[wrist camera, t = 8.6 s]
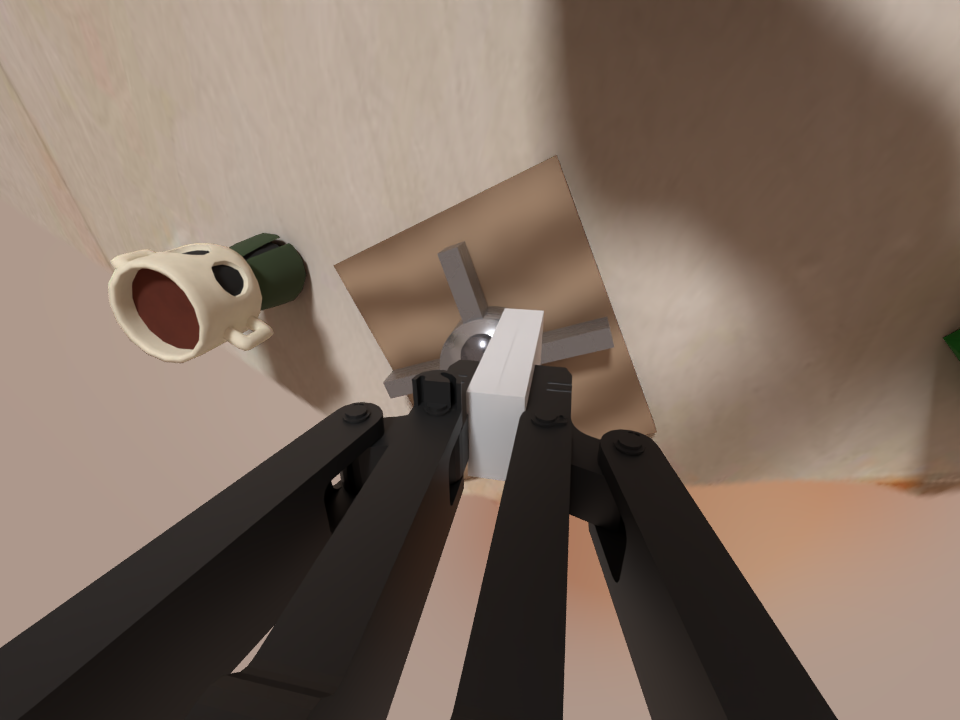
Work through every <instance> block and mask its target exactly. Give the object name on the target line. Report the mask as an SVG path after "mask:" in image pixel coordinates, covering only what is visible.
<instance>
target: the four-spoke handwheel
mask: <svg viewBox="0 0 960 720" xmlns="http://www.w3.org/2000/svg"><path fill="white" fill-rule="evenodd" d="M437 255H438V258H439V260H440V263H441V265H442V268H443V271H444V273H445V276H446V279H447V281H448V284H449V287H450V289H451V292H452V295H453V297H454V300H455V303H456V305H457V308H458V310H459V313H460V316H461V318H462V319H461V320H460V321H459V323H458V324H457V325H456V327H455V328H454V330H453V331H452V333H451V334H450V335H449V337H448V338H447V340H446V342H445V343H444V345H443V348H442V350H441V354H440V359H436V360H432V361H428V362H424V363H420V364H416V365H412V366H408V367H404V368H400V369H396V370H393V371H392V373H391V374H390V375H389V376H388V377H387V379H386V380H385V381H384V382H383V383H384V385H385V387H386V389H387V392H388V394H389V396H390V398H395V397H399V396H404V395H408V394H412V393H413V388H412V378H414V377H415V376H416V375H417V374H420V373H422V372H425V371H430V370H446V371H447V370H448V368H449V366H450V365H452V364H453V363H455V362H457V361H458V360H471V361H481V359H482V357H483V354H484V352H485V350H486V348H487V346H488V344H489V342H490V339H491V337H492V335H493V333H494V331H495V329H496V326H497V324H498V322H499V320H500V318H501V316H502V314H503V311H504V309H505V308H506V307H500V306H488V305H487V302H486V300H485V297H484V294H483V291H482V288H481V285H480V283H479V280H478V277H477V274H476V271H475V268H474V266H473V263H472V260H471V257H470V254H469V251H468V248H467V246H466V243H465V241H463V242H461V243H458V244H455V245H452V246H449V247H446V248H444V249H443V250H442V251H440V252H439V253H438V254H437ZM609 348H614V343H613V338H612V333H611V329H610V325H609V321H608V317H603V318H599V319H595V320H591V321H587V322H583V323H579V324H575V325H571V326H567V327H563V328H559V329H555V330H551V331H547V332H543V333H542V349H541V365H542V364H544V363H548V362H553V361H557V360H561V359H566V358H570V357H574V356H579V355H583V354H588V353H592V352H596V351H601V350H605V349H609Z"/></svg>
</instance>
